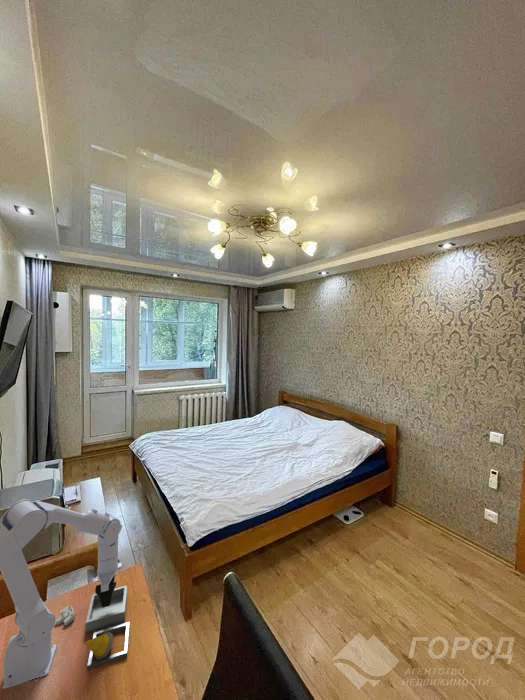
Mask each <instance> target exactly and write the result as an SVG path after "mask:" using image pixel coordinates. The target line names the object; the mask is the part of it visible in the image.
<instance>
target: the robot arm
mask: <svg viewBox="0 0 525 700" xmlns="http://www.w3.org/2000/svg"><path fill="white" fill-rule="evenodd" d="M53 523H55V524H56V523H57V524H63V525H69V526H74V527H75V530H76V531H77V532H79V533H80V532H81V533H85V534H89V535H94V536H97V571H96V575H97V577H98V580H99V582H100V584H97V585H95V589H94V592H95V593H94V594H97V595H98V596H99V598H100V601H101V605H102V608H104V607H107V606H110V603H111V598H112V593H113V591H114V589H115V588H117V587H116V586H117V582H116V581H115V577H116V574H117V571H118V570H121V569H122V567H123V563H122V562H120V559H119V534H120V532H121V531H122V528H123V524H121V520H120V519H118V518H116V517H115V516H113V514H110V513H109V512H104V513H102V512H99V510H98V509H96V508H92V509H91V510H90V509H86V510H84V511H82V512H78V511H76V510H72V509H69V508H65V507H62V506H59V505H56V504H52V503H48V502H46V501H45V502H44V501H40V500H39V501H38V500H34V502H33V501H32V500H31V499H29V498H28V499H27V498H24V499H21V500H17V501H15V502H14V503H13V504H11V505H10V506H9V507H8V509H7V510H6V511H5V512H4V514H3V515H2V517H0V572H1V575H2V579H3V580H4V583H5V585H6V587H7V590H8V592H9V594H10V596H11V600H12V602H13V604H14V609H15V615H14V624H15V625H16V626H18V628H19V632H18V634H15V635H13V636H12V637H10V639H9V641H8V643H7V646H6V648H5V649H6V650H5V653H4V658H3V684H2V689H3V690H5V689H8V688H11V687H15V686H17V685H21V684H24V682H25V683H28V682H30V681H29V680H31V681H33V680H32V679H34V680H36V679H35V678H37V679H39V677H40V678H42V677H45V676H47V675H48V674H49V672H50V669H51V665H52V662H53V659H54V657H55V653H56V650H57V646H58V645H57V644H55V643H54V644H52V634H53V633H52V631H53V628H54V627H55V624H56V616H55V615H54V613H52V612H51V611H50V609H49V608H48V607H47V606H46V604H45V603H44V600H43V599H42V598H41V596H40V593H39V591H38V589H37V586H36V583H35V582H34V578H33V575H32V573H31V570H30V569H29V566H28V563H27V561H26V558H25V556H24V553H23V551H22V550H23V548H24V547H25V546H27V545H28V543H29V542H30V541H31V540H32V539H34V537H35V536H36V535H37V534H38V533H40V531H41V530H42V529H44V530H45V529H48V528H49V527H50V526H51V525H52V524H53ZM27 681H28V682H27Z"/></svg>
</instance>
